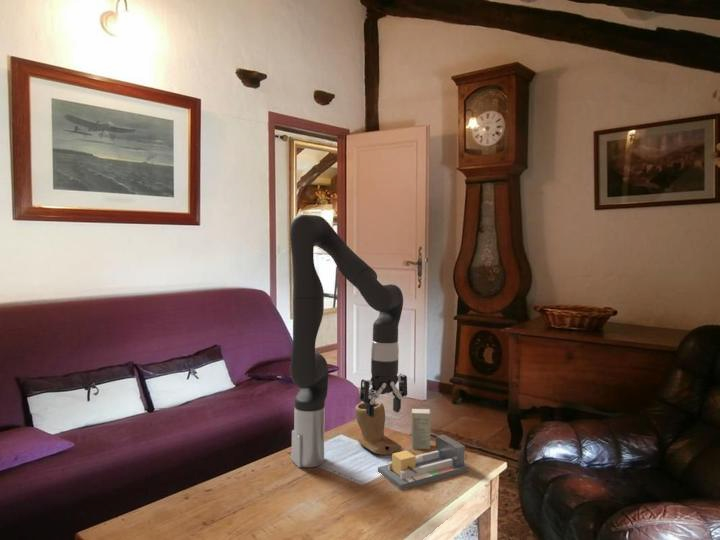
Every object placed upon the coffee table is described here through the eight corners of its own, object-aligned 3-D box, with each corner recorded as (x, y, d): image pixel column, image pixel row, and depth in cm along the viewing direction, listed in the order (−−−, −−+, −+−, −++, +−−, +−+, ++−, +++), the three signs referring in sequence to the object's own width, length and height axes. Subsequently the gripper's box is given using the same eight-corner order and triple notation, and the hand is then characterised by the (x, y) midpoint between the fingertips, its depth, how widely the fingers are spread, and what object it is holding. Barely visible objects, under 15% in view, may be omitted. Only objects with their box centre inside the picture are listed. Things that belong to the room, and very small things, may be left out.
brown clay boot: (348, 442, 175) (349, 399, 174) (379, 436, 181) (380, 394, 179) (369, 460, 162) (370, 413, 161) (402, 453, 167) (403, 408, 166)
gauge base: (400, 490, 144) (400, 477, 144) (377, 472, 154) (378, 460, 154) (467, 471, 156) (468, 460, 155) (442, 455, 166) (442, 445, 166)
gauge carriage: (408, 482, 145) (409, 465, 144) (391, 469, 152) (392, 453, 152) (434, 475, 149) (435, 458, 149) (417, 463, 156) (417, 447, 156)
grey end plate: (456, 467, 155) (457, 448, 154) (435, 454, 163) (436, 436, 163) (464, 465, 156) (464, 446, 156) (443, 452, 165) (443, 434, 164)
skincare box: (430, 444, 175) (431, 408, 174) (430, 450, 170) (431, 413, 169) (410, 443, 175) (411, 407, 174) (410, 448, 171) (411, 412, 170)
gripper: (398, 351, 151) (396, 406, 153) (355, 356, 144) (354, 414, 145) (413, 357, 145) (412, 414, 146) (370, 363, 138) (368, 422, 139)
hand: (383, 414), depth 146 cm, fingers open, 8 cm apart
